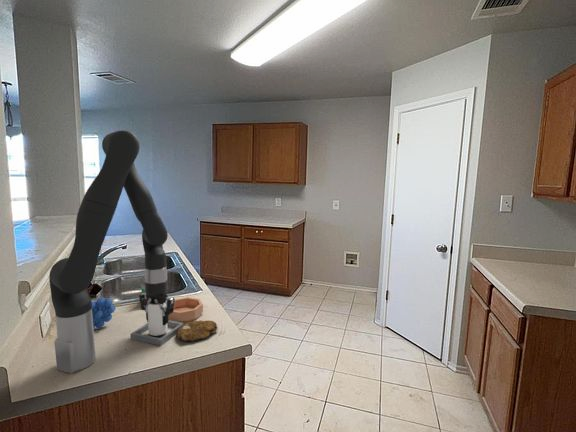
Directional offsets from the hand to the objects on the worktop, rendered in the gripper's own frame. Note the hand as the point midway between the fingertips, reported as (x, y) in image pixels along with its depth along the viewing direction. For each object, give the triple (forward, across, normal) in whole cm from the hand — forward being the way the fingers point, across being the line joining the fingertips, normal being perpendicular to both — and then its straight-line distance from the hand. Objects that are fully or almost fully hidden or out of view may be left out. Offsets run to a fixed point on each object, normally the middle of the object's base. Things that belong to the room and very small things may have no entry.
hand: (157, 322), depth 116 cm
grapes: (+5, -24, -4) cm, 25 cm away
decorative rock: (+5, +14, +5) cm, 15 cm away
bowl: (+4, 0, +16) cm, 17 cm away
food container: (+4, -21, +23) cm, 32 cm away
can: (+4, 0, 0) cm, 4 cm away
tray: (+4, 0, 0) cm, 4 cm away
